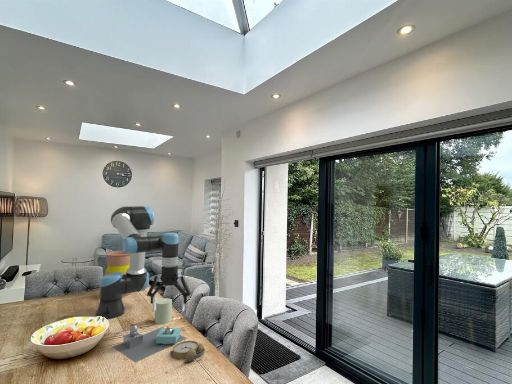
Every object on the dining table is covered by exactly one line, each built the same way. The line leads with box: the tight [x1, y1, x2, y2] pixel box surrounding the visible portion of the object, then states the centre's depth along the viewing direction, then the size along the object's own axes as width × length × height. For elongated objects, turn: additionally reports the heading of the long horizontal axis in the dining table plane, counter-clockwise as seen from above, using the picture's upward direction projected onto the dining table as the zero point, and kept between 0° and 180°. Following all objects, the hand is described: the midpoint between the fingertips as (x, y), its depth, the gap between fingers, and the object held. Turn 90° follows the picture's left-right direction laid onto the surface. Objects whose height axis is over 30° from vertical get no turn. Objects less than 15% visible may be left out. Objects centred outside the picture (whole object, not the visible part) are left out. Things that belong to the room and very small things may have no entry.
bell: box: [160, 325, 173, 345], centre depth 130 cm, size 8×8×6 cm
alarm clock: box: [170, 340, 206, 363], centre depth 119 cm, size 11×5×15 cm
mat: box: [112, 326, 188, 363], centre depth 128 cm, size 20×26×1 cm
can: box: [154, 297, 173, 325], centre depth 153 cm, size 9×9×12 cm
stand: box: [122, 323, 144, 349], centre depth 127 cm, size 6×6×8 cm
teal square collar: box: [156, 327, 181, 344], centre depth 130 cm, size 9×9×3 cm
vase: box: [103, 250, 132, 298], centre depth 201 cm, size 22×22×30 cm
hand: (168, 310), depth 131 cm, fingers open, 13 cm apart
